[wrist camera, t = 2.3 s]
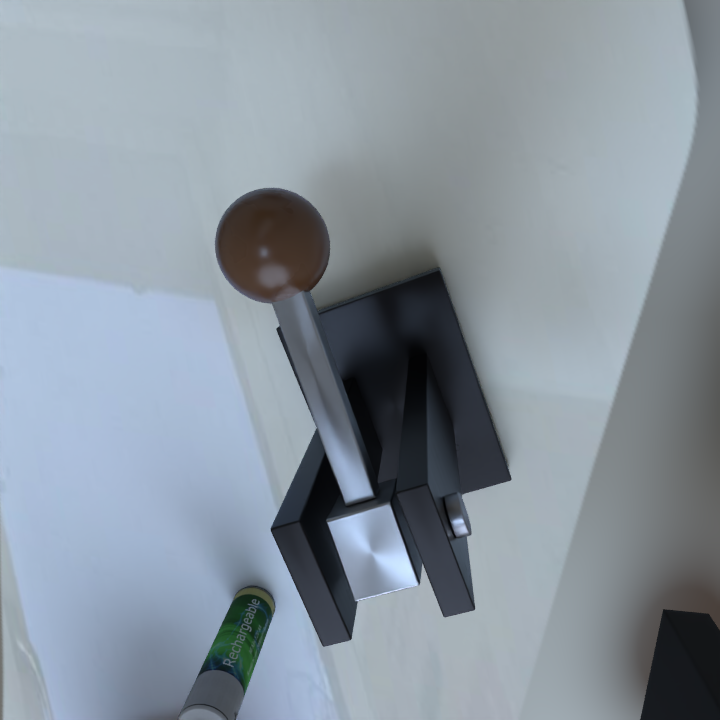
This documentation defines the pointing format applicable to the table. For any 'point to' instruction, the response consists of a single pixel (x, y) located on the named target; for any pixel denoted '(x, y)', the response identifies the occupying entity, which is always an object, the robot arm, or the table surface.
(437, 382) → the lever bracket
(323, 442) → the flush lever
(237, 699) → the battery
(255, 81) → the table surface
